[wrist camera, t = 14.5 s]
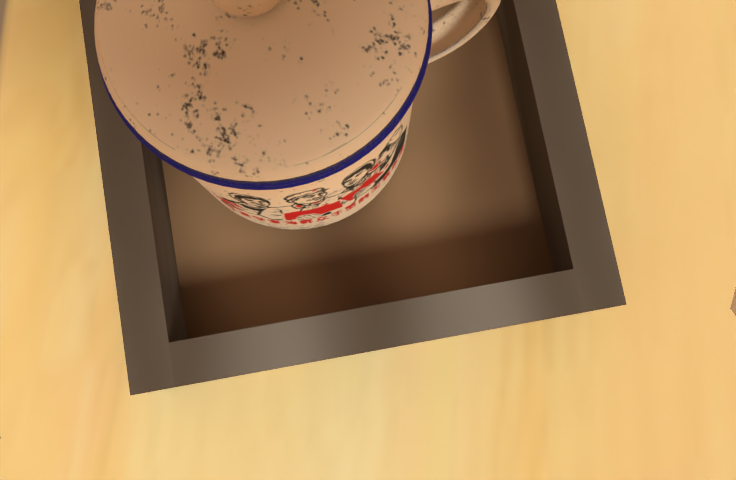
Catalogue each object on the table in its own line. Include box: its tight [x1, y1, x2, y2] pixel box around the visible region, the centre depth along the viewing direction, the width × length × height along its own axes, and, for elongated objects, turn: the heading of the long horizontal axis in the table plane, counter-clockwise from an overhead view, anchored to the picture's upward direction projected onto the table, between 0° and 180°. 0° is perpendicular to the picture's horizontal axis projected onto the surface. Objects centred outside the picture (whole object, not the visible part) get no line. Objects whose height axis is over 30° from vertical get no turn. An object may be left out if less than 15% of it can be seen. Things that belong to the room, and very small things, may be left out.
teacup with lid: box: [94, 0, 501, 230], centre depth 21 cm, size 12×9×12 cm
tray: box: [79, 0, 626, 395], centre depth 26 cm, size 17×19×4 cm
